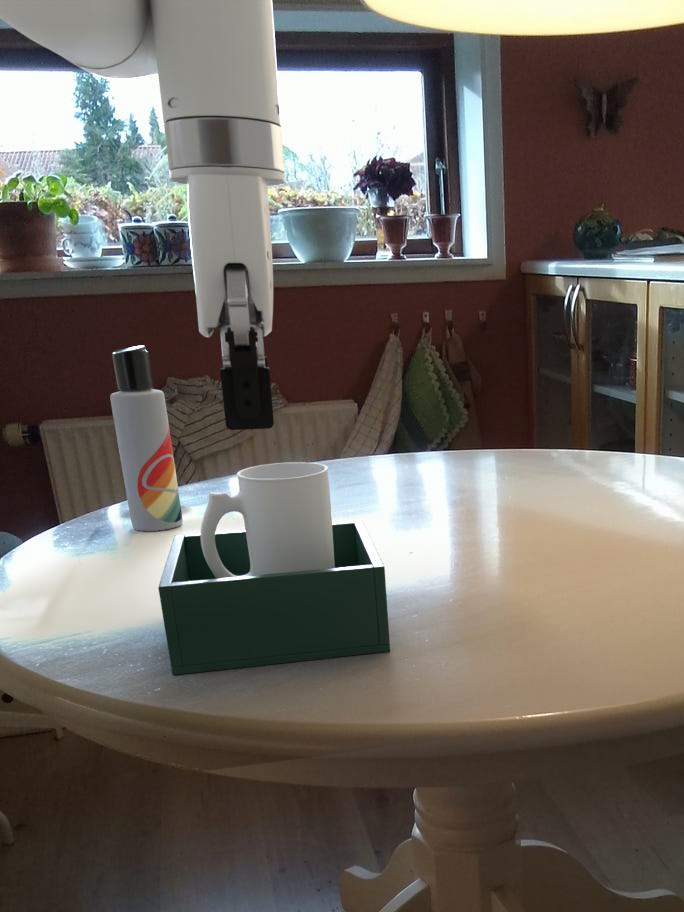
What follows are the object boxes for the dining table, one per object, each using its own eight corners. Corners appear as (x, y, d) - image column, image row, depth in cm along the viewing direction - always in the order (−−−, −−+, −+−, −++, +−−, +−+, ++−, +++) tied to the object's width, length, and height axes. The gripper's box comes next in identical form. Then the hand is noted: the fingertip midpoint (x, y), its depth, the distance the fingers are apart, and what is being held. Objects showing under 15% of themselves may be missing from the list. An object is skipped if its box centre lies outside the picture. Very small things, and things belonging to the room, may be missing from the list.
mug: (330, 601, 78) (316, 459, 74) (351, 625, 72) (338, 473, 68) (208, 619, 75) (186, 471, 70) (219, 647, 69) (197, 487, 64)
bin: (172, 675, 66) (158, 586, 63) (185, 610, 79) (174, 535, 76) (390, 651, 69) (384, 566, 66) (368, 592, 82) (362, 520, 80)
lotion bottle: (189, 526, 107) (162, 345, 99) (138, 534, 104) (107, 349, 97) (176, 517, 111) (149, 343, 104) (127, 524, 108) (96, 347, 101)
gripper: (177, 171, 69) (203, 406, 75) (155, 137, 53) (190, 439, 59) (280, 173, 70) (297, 403, 76) (288, 141, 54) (308, 434, 61)
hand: (250, 419), depth 68 cm, fingers open, 9 cm apart
